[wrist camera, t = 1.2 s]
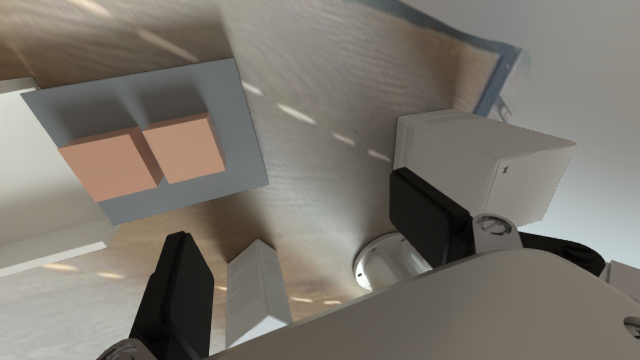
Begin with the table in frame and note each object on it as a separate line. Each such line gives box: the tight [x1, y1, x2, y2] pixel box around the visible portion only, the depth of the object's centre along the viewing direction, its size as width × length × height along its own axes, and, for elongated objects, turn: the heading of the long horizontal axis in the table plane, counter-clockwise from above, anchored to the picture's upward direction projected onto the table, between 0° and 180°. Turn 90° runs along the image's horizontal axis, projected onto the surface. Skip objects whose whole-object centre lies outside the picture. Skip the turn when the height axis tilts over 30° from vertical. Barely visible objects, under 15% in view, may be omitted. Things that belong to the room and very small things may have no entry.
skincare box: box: [226, 239, 293, 349], centre depth 31 cm, size 6×4×12 cm
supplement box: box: [393, 109, 576, 228], centre depth 29 cm, size 9×9×15 cm
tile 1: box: [142, 112, 226, 184], centre depth 23 cm, size 5×5×2 cm
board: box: [20, 57, 269, 226], centre depth 25 cm, size 16×13×3 cm
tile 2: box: [57, 126, 164, 202], centre depth 22 cm, size 5×5×2 cm
